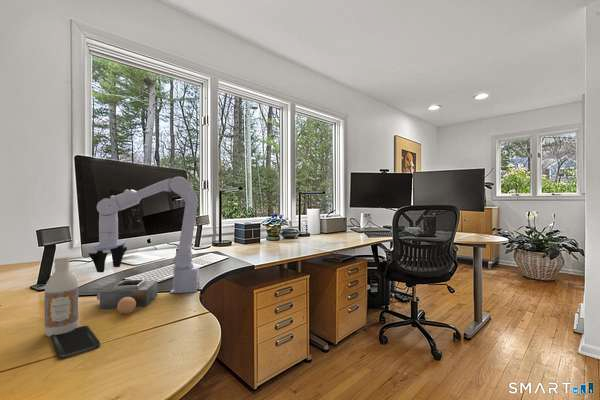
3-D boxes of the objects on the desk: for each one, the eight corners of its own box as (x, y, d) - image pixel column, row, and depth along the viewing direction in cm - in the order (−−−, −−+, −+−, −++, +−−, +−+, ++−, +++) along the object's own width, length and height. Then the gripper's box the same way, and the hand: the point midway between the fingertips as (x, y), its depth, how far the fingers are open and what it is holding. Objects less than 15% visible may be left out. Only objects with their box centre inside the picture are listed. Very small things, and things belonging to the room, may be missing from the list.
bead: (138, 309, 91) (138, 294, 91) (132, 316, 86) (132, 299, 86) (121, 310, 90) (121, 295, 90) (114, 317, 85) (114, 300, 85)
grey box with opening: (157, 295, 104) (157, 277, 104) (146, 306, 94) (146, 286, 94) (106, 298, 102) (106, 279, 102) (89, 309, 91) (89, 289, 91)
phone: (59, 357, 62) (50, 334, 73) (59, 362, 62) (50, 339, 73) (101, 343, 68) (87, 324, 78) (101, 348, 68) (87, 328, 78)
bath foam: (42, 340, 71) (41, 261, 71) (47, 329, 77) (47, 256, 77) (76, 333, 75) (76, 257, 75) (79, 323, 81) (79, 253, 81)
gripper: (113, 229, 110) (113, 264, 110) (81, 234, 96) (81, 274, 96) (130, 229, 109) (130, 264, 109) (100, 234, 95) (100, 275, 95)
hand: (108, 269), depth 102 cm, fingers open, 7 cm apart
